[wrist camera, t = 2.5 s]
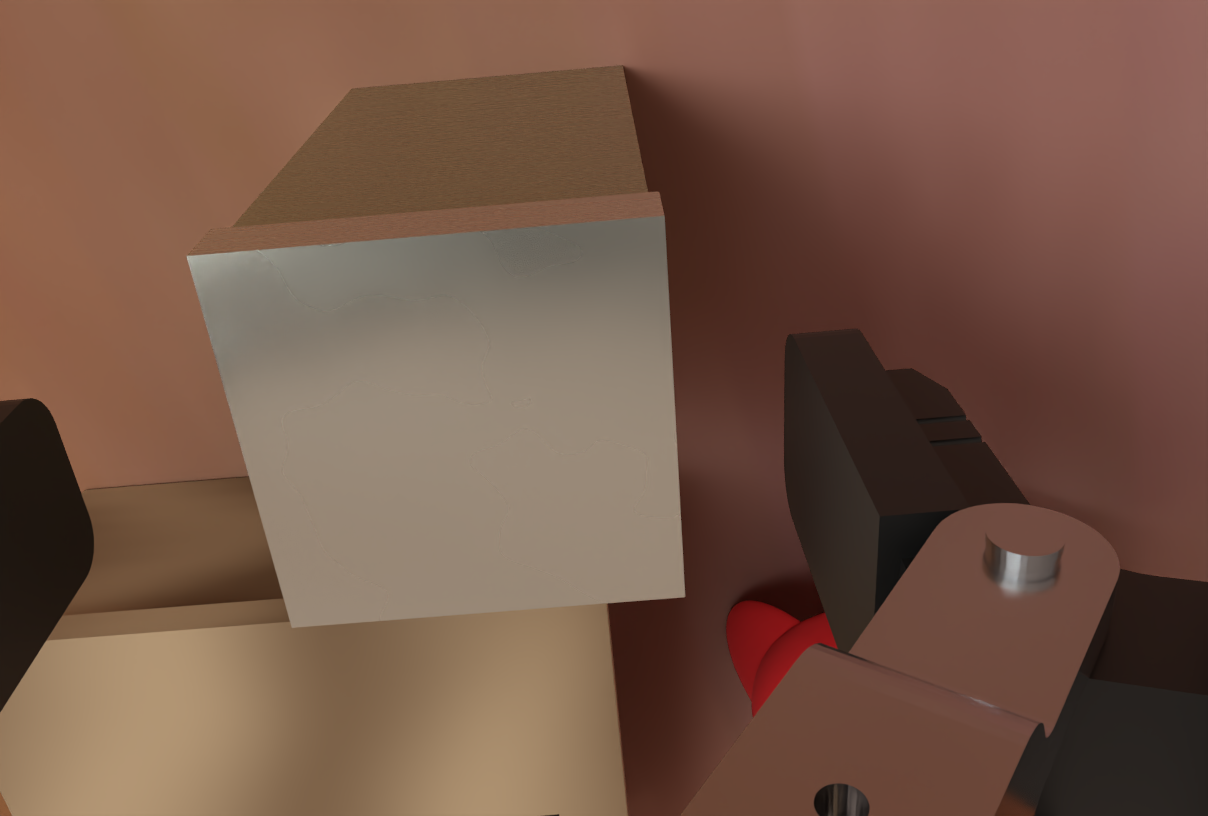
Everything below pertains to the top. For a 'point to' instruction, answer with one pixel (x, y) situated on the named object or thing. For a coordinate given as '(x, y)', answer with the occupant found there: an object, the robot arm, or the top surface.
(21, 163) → the top surface
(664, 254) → the tea tin
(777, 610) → the cap
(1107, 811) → the robot arm
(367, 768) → the beige flat block
